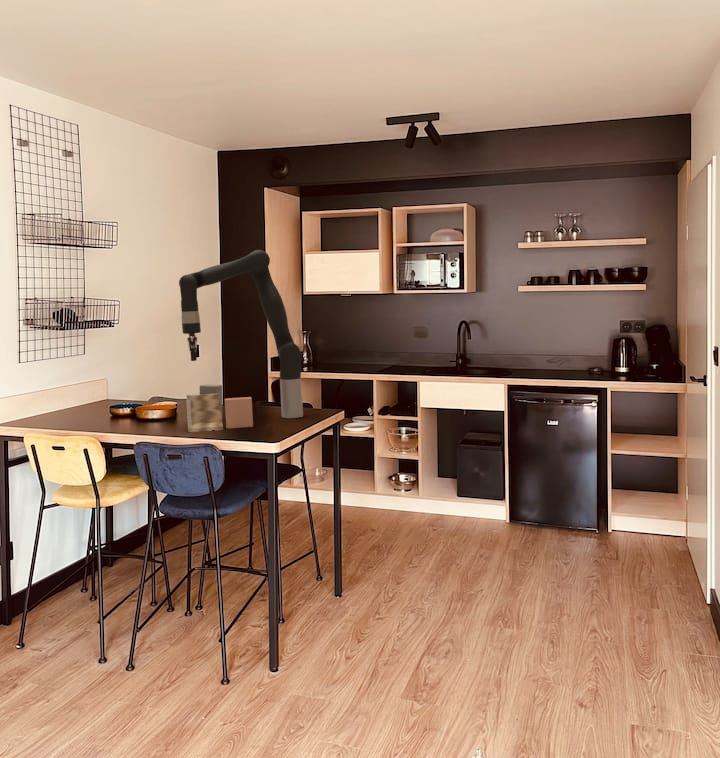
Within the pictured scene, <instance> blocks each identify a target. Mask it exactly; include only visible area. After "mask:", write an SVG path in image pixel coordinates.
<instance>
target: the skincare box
mask: <svg viewBox="0 0 720 758" xmlns="http://www.w3.org/2000/svg"><path fill="white" fill-rule="evenodd" d="M218 393H220V395H221V412H222V413H223V385H222V384H207V383H205V384H201V385H199V395H201V394H218Z"/></svg>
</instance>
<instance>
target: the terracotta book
mask: <svg viewBox="0 0 720 758" xmlns="http://www.w3.org/2000/svg"><path fill="white" fill-rule="evenodd" d="M252 399H253V398H252V397H251V396H248V397H247V396H246V397H232V398H231V397H228V398H224V411H225V413H224V414H225V427H226V429H227V428H228V429H238V428H239V429H240V428H253V427H254V421H253V419H254V418H253V400H252Z"/></svg>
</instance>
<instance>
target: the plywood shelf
mask: <svg viewBox="0 0 720 758" xmlns="http://www.w3.org/2000/svg"><path fill="white" fill-rule="evenodd" d="M187 398H191V415H192V429H188V428H187V433H199V432H211V431H212V430H215V431H224V425H223V411H222V412H221V395H220V393H218V394H201V395H200V394H187V395H186V399H187ZM212 432H213V431H212Z"/></svg>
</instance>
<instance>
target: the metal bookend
mask: <svg viewBox="0 0 720 758" xmlns="http://www.w3.org/2000/svg"><path fill="white" fill-rule="evenodd" d="M185 401H186V413H187V414H186V416H187V417H186V418H187V430H188V429H192V415H191V398H187V397H186V400H185Z"/></svg>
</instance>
